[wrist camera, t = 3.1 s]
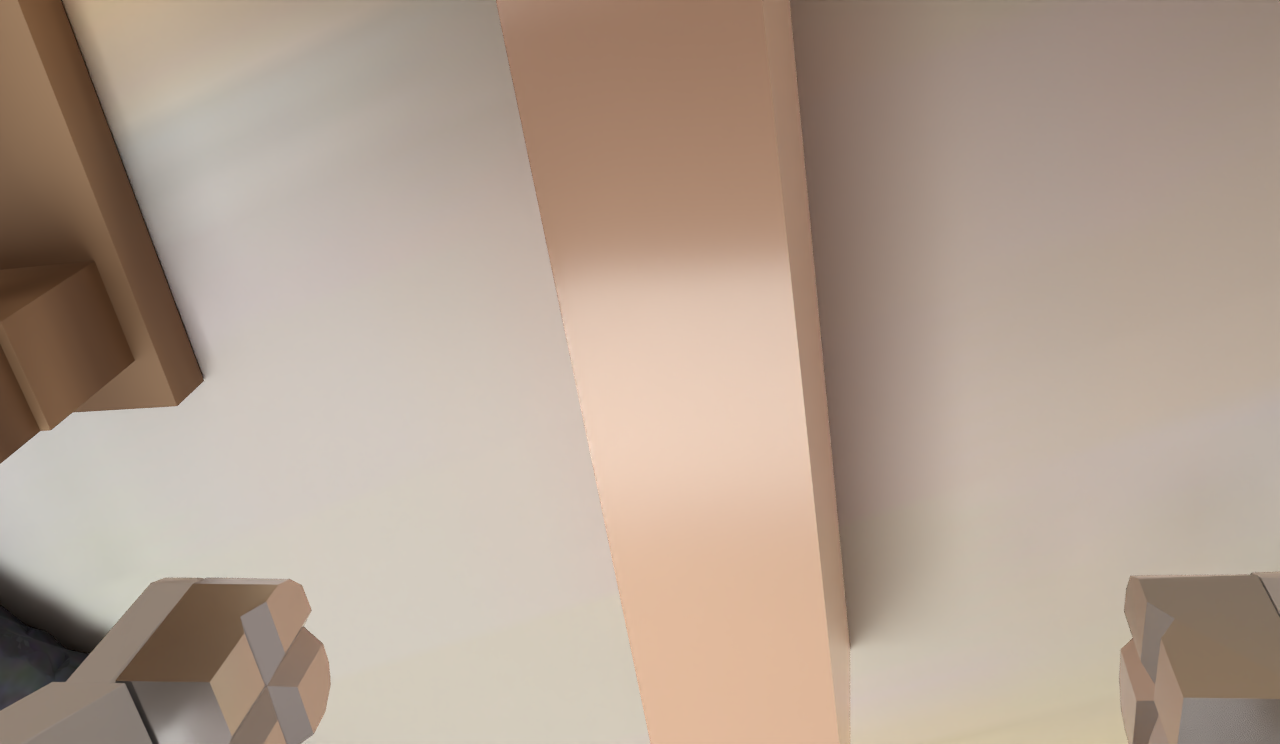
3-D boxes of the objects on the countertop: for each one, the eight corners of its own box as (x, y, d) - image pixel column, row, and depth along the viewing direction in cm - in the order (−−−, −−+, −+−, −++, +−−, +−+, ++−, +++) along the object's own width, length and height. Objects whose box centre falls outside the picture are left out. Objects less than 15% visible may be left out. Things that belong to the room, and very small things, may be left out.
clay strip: (560, -210, 16) (453, -204, 12) (767, -249, 15) (735, -257, 11) (704, 643, 23) (671, 843, 19) (850, 641, 22) (850, 848, 18)
